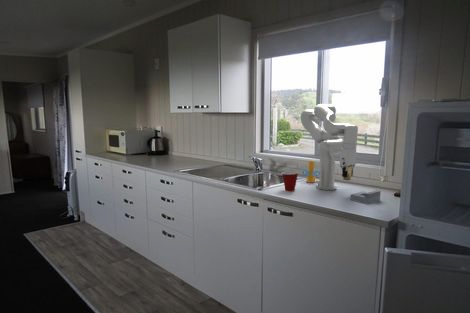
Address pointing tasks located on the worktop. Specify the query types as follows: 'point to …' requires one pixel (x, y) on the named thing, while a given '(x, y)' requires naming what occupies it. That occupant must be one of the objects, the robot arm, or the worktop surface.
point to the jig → (366, 196)
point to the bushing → (348, 173)
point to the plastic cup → (290, 180)
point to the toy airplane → (311, 172)
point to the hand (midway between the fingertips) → (347, 176)
